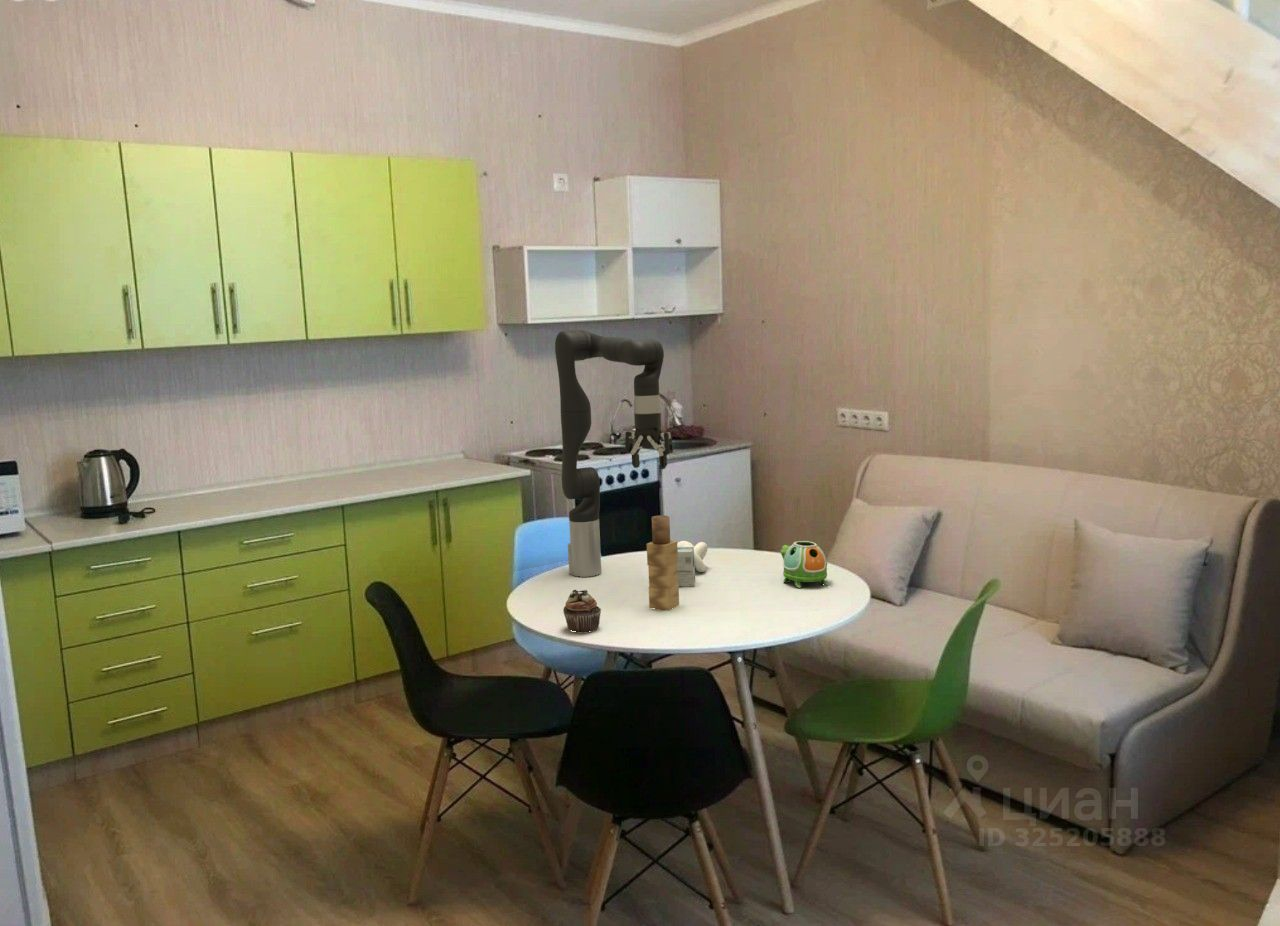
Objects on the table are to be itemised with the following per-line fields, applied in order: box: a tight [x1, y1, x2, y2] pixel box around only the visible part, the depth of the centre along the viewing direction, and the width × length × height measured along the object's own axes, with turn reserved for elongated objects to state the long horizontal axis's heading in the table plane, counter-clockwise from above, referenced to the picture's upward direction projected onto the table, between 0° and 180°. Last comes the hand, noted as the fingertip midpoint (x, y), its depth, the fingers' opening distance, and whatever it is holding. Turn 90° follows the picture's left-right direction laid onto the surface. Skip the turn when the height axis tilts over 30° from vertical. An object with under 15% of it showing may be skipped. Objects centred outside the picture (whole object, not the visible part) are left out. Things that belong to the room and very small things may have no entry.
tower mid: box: [647, 563, 678, 589], centre depth 280 cm, size 6×6×6 cm
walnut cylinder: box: [651, 515, 671, 545], centre depth 278 cm, size 5×5×7 cm
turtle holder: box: [780, 540, 828, 589], centre depth 300 cm, size 12×18×12 cm
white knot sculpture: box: [677, 540, 708, 573], centre depth 318 cm, size 11×12×9 cm
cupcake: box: [563, 589, 602, 633], centre depth 264 cm, size 10×10×10 cm
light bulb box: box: [677, 545, 696, 587], centre depth 303 cm, size 11×7×11 cm, turn 84°
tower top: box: [646, 540, 678, 568], centre depth 279 cm, size 6×6×6 cm
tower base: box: [648, 584, 680, 612], centre depth 280 cm, size 6×6×6 cm
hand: (649, 468), depth 291 cm, fingers open, 8 cm apart
